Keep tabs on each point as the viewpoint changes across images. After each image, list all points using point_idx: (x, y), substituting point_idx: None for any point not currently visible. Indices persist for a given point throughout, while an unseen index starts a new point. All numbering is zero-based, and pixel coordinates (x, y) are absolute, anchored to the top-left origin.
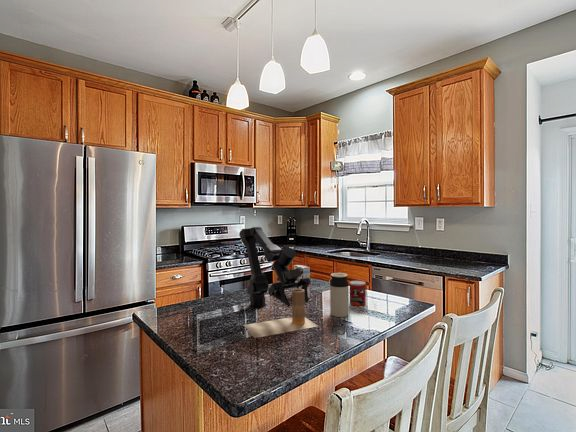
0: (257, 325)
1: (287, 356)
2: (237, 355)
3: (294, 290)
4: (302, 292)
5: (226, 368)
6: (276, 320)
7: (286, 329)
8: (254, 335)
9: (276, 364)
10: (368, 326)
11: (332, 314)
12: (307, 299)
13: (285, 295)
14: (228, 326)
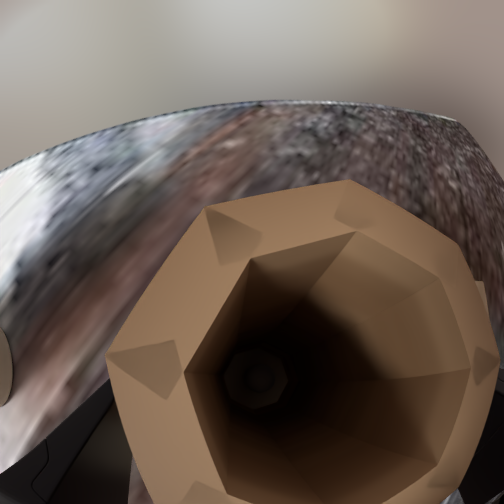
0: None
1: (398, 157)
2: (495, 233)
3: (404, 477)
4: (295, 203)
5: (497, 197)
6: None
7: None
8: (484, 303)
9: (423, 149)
10: (23, 197)
11: (8, 372)
12: (111, 388)
13: (500, 387)
14: None
